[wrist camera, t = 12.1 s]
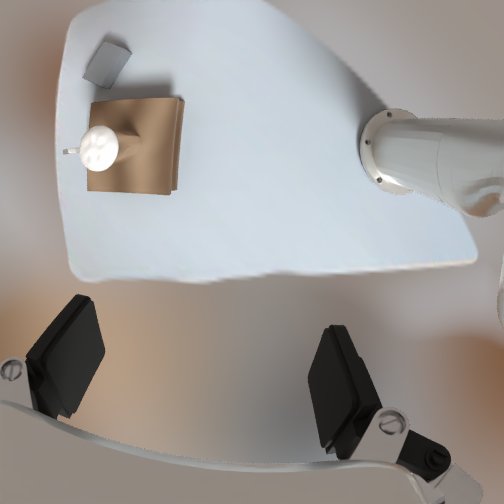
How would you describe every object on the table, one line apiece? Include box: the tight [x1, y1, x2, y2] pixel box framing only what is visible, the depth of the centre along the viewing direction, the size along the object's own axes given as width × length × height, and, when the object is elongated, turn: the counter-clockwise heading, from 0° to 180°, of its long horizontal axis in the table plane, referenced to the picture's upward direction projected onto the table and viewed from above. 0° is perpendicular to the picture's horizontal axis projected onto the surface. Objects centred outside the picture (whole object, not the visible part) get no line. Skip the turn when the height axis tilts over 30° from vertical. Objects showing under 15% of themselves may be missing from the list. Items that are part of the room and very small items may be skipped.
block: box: [82, 41, 132, 89], centre depth 27 cm, size 4×6×3 cm, turn 146°
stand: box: [87, 98, 185, 195], centre depth 31 cm, size 12×12×4 cm
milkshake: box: [63, 126, 142, 171], centre depth 25 cm, size 4×5×10 cm
